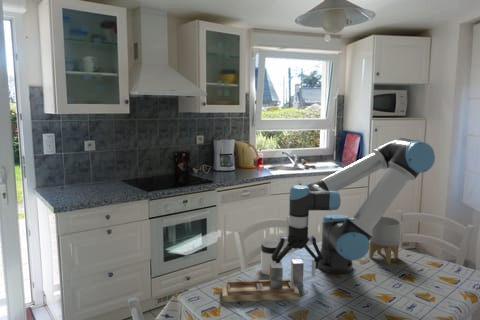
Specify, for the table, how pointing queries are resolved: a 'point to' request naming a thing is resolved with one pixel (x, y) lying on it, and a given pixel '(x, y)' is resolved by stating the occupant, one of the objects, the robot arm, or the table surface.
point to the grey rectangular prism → (297, 271)
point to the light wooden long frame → (261, 288)
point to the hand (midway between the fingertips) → (296, 276)
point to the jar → (267, 255)
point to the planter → (385, 237)
